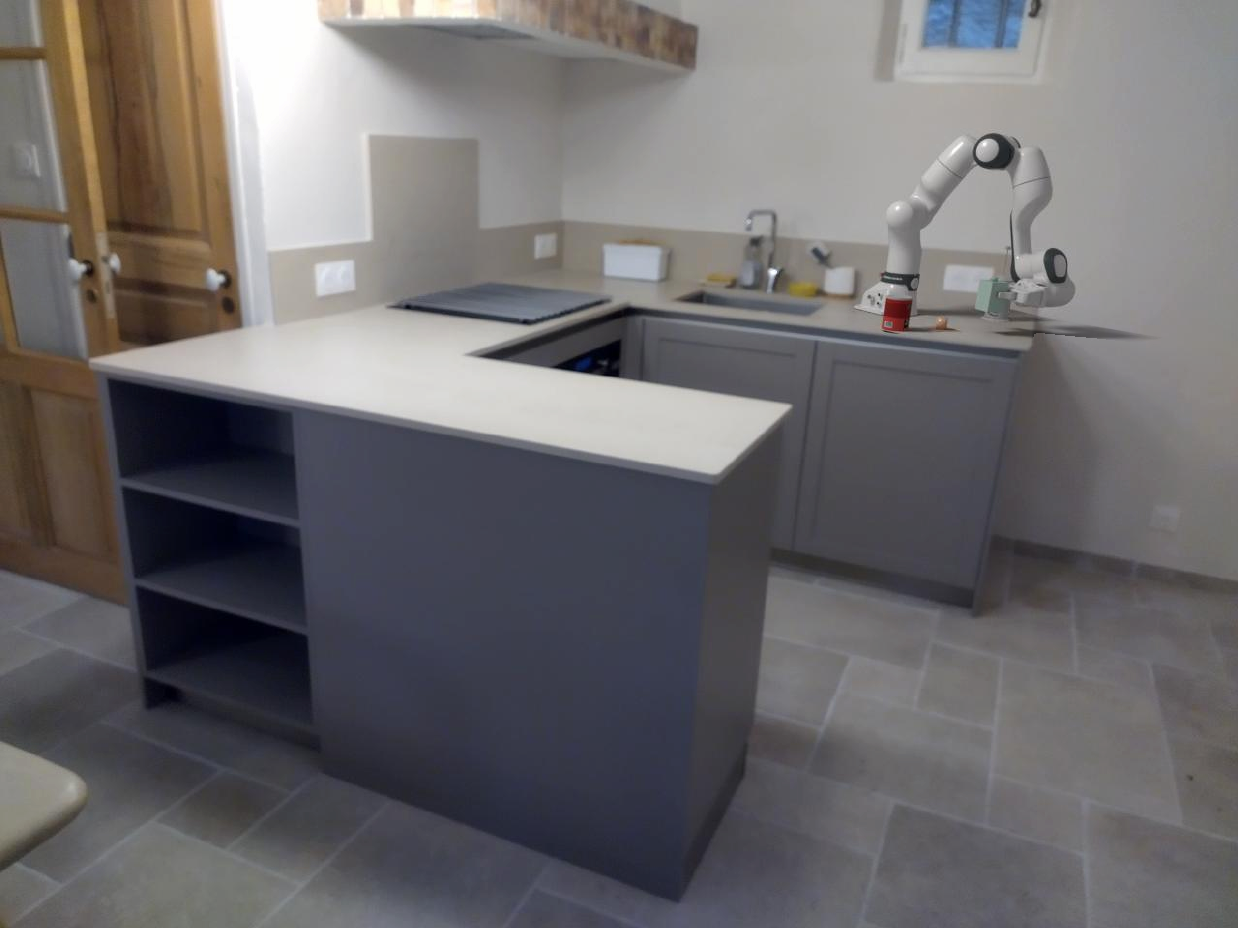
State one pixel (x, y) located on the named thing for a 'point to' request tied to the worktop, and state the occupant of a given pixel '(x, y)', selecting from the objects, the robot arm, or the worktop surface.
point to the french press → (1004, 315)
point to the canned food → (897, 313)
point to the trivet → (941, 330)
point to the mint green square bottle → (991, 295)
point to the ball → (941, 323)
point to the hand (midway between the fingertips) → (989, 292)
